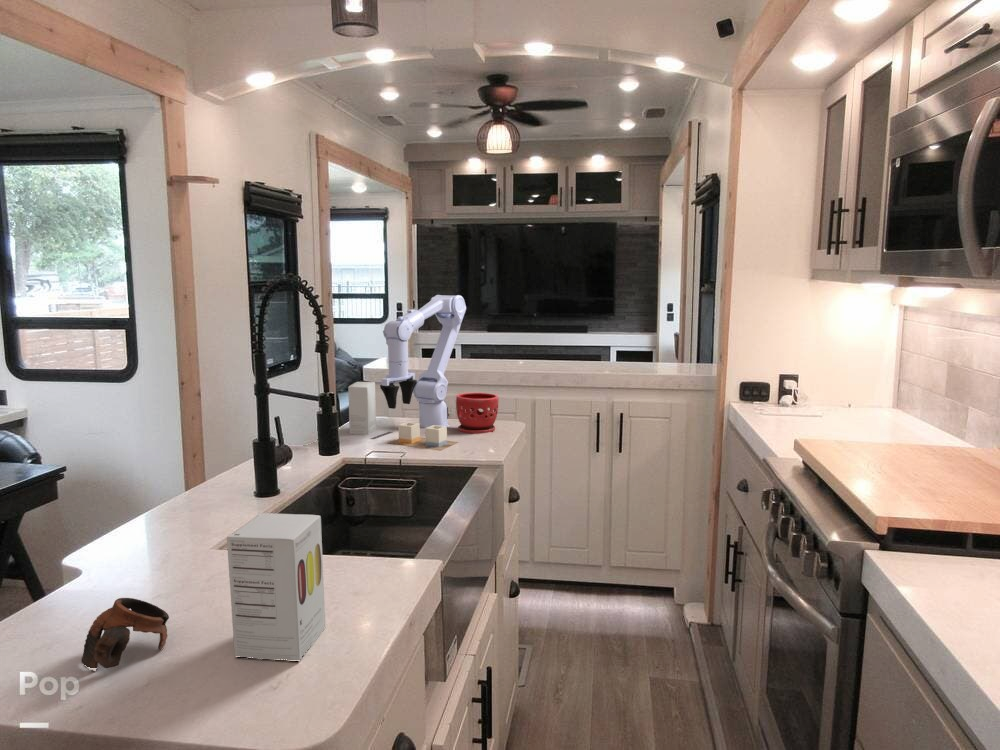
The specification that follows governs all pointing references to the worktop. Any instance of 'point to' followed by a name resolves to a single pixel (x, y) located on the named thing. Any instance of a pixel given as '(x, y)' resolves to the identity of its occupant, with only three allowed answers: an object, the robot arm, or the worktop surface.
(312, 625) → the supplement box
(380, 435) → the mat
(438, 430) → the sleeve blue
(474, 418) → the plant pot
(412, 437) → the cream square sleeve
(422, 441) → the pin board
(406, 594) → the worktop surface
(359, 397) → the skincare box
